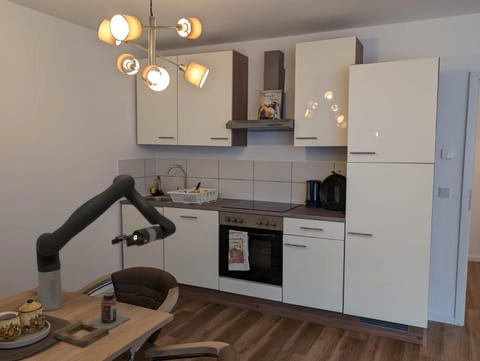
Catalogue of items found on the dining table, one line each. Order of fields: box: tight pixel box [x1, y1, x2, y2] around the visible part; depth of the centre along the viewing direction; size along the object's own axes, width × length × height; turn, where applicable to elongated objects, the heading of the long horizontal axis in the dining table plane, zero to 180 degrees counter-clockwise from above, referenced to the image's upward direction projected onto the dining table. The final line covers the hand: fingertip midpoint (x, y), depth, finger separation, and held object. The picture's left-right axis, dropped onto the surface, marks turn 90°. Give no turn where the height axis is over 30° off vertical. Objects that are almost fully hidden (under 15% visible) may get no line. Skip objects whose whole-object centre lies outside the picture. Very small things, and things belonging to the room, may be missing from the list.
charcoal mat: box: [87, 314, 131, 331], centre depth 166 cm, size 12×12×1 cm
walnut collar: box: [52, 320, 110, 348], centre depth 154 cm, size 16×12×2 cm
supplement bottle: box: [100, 291, 117, 323], centre depth 166 cm, size 6×6×11 cm
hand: (119, 243), depth 175 cm, fingers open, 8 cm apart
